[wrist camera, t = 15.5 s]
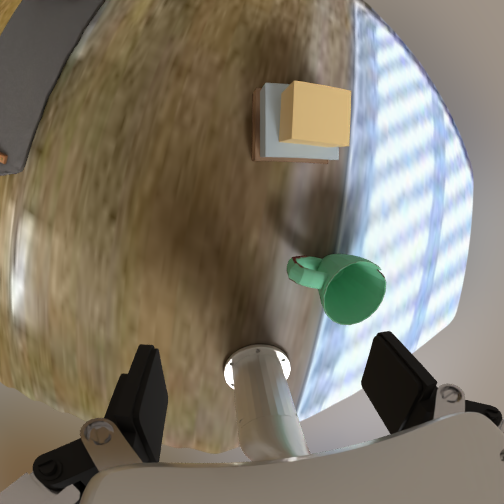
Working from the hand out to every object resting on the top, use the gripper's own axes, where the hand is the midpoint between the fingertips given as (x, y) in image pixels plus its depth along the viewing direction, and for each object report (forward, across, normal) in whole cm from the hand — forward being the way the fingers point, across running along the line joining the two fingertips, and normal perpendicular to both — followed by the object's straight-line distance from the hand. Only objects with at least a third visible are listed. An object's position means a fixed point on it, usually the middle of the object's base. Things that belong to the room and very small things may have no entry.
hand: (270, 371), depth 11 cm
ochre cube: (+24, -8, -14) cm, 28 cm away
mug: (+33, -14, +7) cm, 36 cm away
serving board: (+32, +38, -30) cm, 58 cm away
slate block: (+28, -7, -14) cm, 32 cm away
